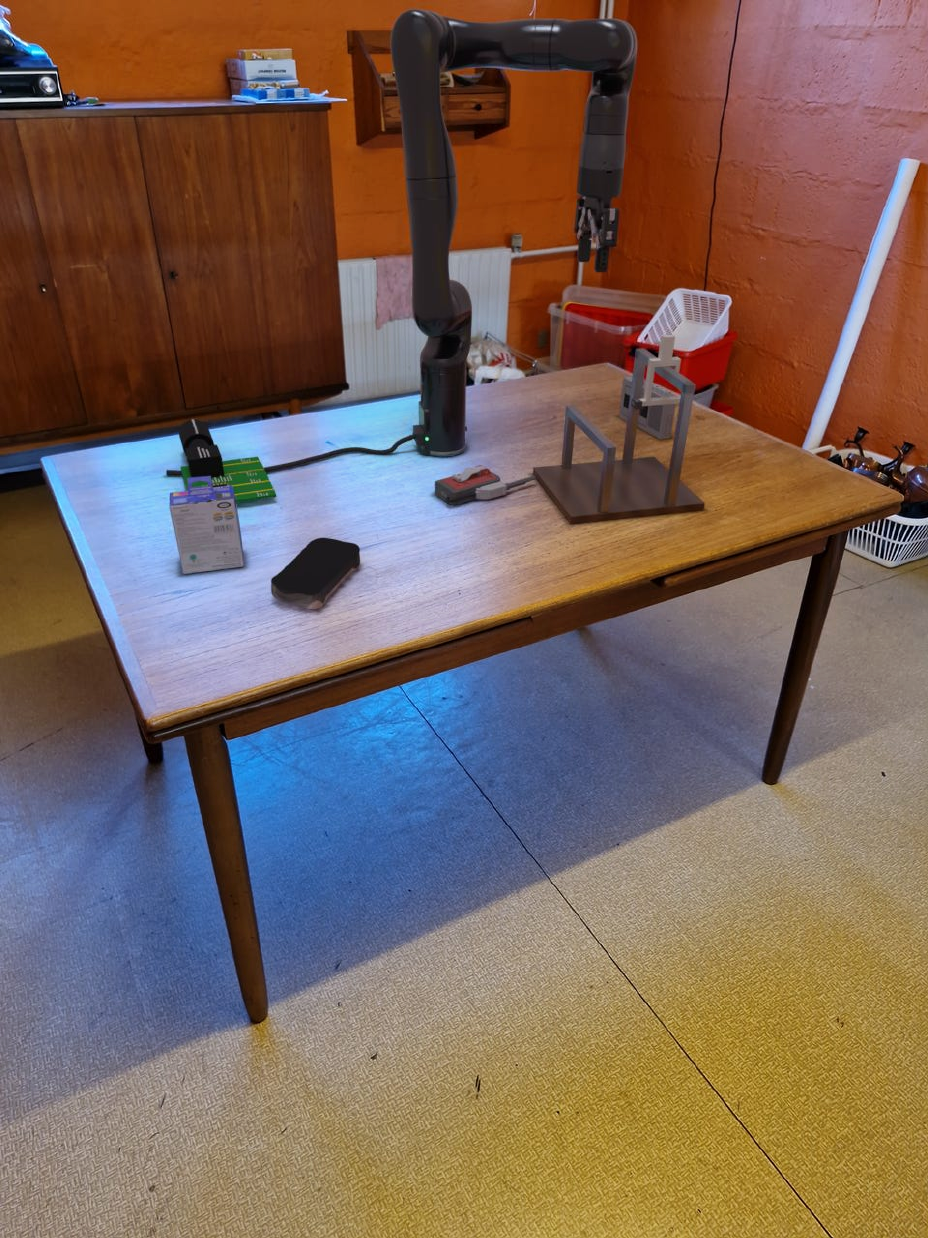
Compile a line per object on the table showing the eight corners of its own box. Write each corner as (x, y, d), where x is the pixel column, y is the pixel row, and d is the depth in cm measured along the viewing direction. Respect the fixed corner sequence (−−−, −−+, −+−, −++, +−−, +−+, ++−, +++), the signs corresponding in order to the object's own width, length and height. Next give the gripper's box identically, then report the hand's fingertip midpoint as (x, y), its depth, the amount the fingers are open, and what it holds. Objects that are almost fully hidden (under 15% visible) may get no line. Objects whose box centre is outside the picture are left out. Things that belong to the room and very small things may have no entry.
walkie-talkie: (454, 512, 154) (538, 486, 164) (454, 490, 152) (540, 464, 162) (427, 495, 160) (510, 470, 170) (427, 473, 158) (511, 450, 168)
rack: (570, 524, 151) (582, 393, 138) (532, 474, 169) (540, 353, 156) (703, 510, 156) (727, 382, 143) (653, 463, 174) (670, 345, 161)
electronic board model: (273, 468, 153) (186, 480, 148) (277, 502, 157) (193, 515, 152) (245, 412, 176) (169, 421, 171) (249, 444, 180) (175, 453, 175)
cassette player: (618, 416, 197) (623, 373, 191) (628, 414, 198) (633, 371, 192) (660, 439, 185) (667, 394, 179) (670, 437, 186) (677, 392, 180)
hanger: (635, 409, 153) (644, 338, 146) (630, 405, 155) (639, 335, 148) (691, 405, 155) (702, 335, 148) (686, 401, 157) (697, 332, 150)
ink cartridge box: (243, 551, 141) (231, 470, 133) (246, 567, 137) (233, 484, 129) (181, 558, 139) (165, 477, 131) (182, 575, 135) (165, 491, 127)
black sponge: (318, 554, 141) (316, 534, 139) (365, 563, 138) (363, 543, 136) (267, 604, 128) (264, 583, 126) (317, 615, 126) (315, 594, 124)
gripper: (566, 159, 148) (558, 259, 157) (595, 169, 136) (586, 276, 145) (606, 159, 149) (596, 258, 158) (639, 168, 138) (627, 274, 147)
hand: (591, 266), depth 152 cm, fingers open, 8 cm apart
